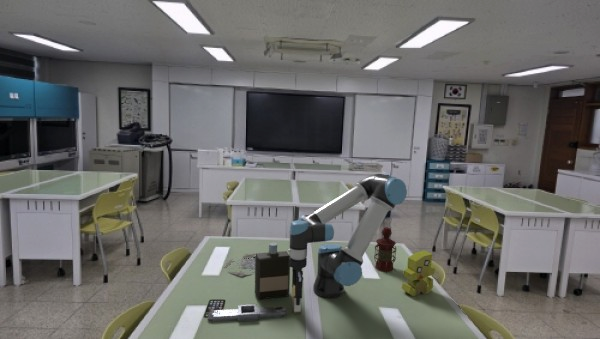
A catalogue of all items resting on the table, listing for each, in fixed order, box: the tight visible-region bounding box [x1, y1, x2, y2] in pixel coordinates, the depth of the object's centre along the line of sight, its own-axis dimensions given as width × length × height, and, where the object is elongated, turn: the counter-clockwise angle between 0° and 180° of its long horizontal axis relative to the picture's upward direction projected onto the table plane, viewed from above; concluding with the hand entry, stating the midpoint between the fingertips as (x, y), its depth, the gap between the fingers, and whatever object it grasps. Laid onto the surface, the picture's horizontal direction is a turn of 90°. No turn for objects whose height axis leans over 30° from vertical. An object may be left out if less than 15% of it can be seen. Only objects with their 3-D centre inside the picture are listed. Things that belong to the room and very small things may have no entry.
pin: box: [291, 284, 302, 315], centre depth 159 cm, size 4×4×12 cm
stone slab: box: [223, 253, 256, 277], centre depth 212 cm, size 27×33×1 cm
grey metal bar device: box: [207, 303, 287, 323], centre depth 155 cm, size 33×8×3 cm, turn 100°
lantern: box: [373, 216, 397, 273], centre depth 209 cm, size 12×12×30 cm
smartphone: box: [203, 298, 226, 319], centre depth 161 cm, size 7×1×15 cm
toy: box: [401, 249, 436, 297], centre depth 181 cm, size 16×6×20 cm, turn 115°
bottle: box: [254, 242, 291, 300], centre depth 174 cm, size 8×16×25 cm, turn 106°
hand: (296, 308), depth 160 cm, fingers closed on pin, 4 cm apart
